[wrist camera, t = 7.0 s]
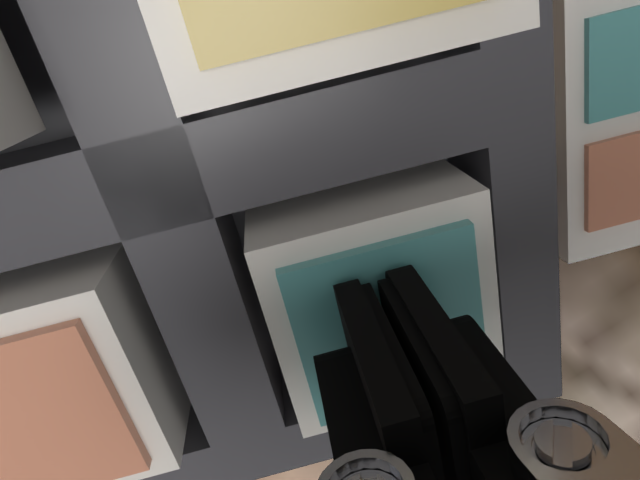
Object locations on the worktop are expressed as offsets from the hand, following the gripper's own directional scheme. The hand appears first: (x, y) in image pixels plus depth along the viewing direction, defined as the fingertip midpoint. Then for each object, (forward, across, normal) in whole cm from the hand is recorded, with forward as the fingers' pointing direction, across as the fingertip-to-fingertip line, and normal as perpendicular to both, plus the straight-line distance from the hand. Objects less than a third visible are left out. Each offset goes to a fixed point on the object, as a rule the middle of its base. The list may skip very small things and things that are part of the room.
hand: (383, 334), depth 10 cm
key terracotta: (+4, +8, 0) cm, 9 cm away
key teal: (+4, 0, 0) cm, 4 cm away
